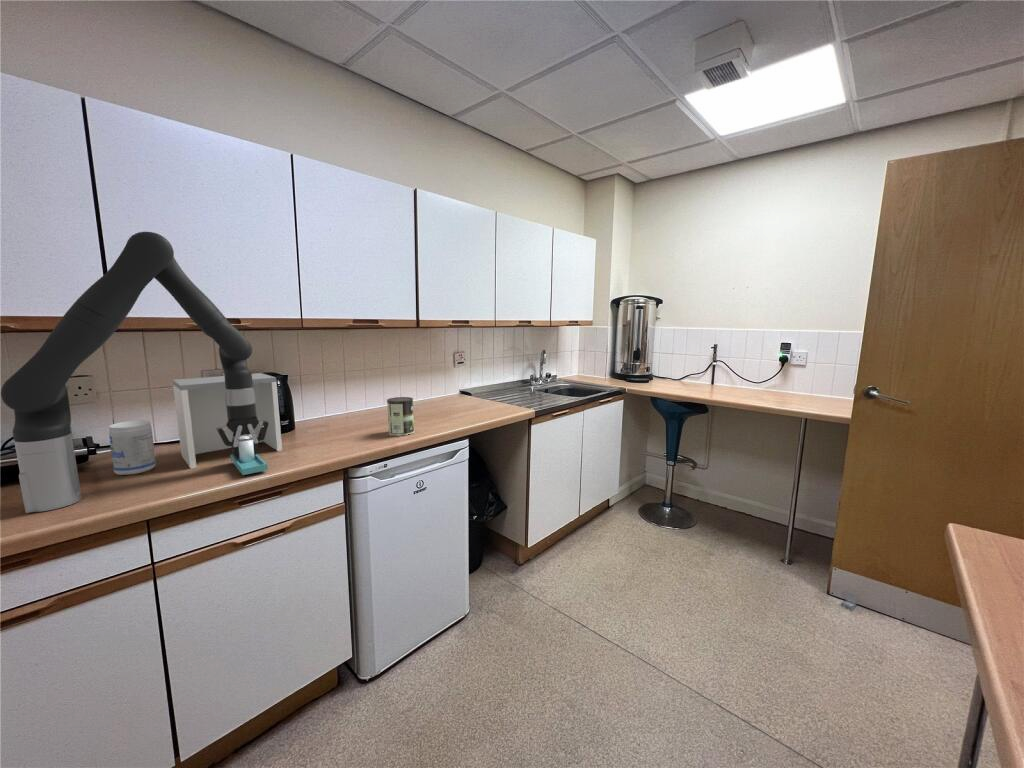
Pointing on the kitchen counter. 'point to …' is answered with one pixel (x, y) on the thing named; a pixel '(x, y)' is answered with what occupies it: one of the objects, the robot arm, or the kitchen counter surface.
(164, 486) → the kitchen counter surface
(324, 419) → the kitchen counter surface
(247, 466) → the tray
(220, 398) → the white shelf
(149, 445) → the supplement tub
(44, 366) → the robot arm
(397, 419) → the coffee can
